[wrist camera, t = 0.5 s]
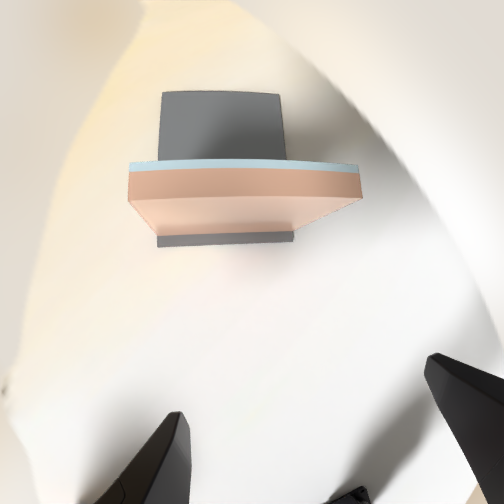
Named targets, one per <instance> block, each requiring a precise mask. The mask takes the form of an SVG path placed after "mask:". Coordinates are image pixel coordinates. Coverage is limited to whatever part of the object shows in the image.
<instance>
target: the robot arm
mask: <svg viewBox="0 0 504 504" xmlns="http://www.w3.org/2000/svg"><path fill="white" fill-rule="evenodd" d="M424 376H425V379H426V381H427V383H428V385H429V388H430V390H431V392H432V394H433V397H434V399H435V401H436V403H437V406H438V408H439V409H440V411H441V413H442V415H443V417H444V418H445V420H446V422H447V424H448V425H449V427H450V429H451V431H452V433H453V434H454V436H455V438H456V440H457V442H458V444H459V446H460V447H461V449H462V451H463V453H464V455H465V457H466V459H467V461H468V463H469V465H470V467H471V469H472V471H473V473H474V475H475V477H476V479H477V481H478V483H479V485H480V488H481V490H482V492H483V494H484V496H485V498H486V500H487V503H488V504H504V379H502V378H500V377H497V376H495V375H492V374H489V373H487V372H484V371H482V370H479V369H477V368H474V367H472V366H469V365H467V364H464V363H462V362H460V361H457V360H455V359H452V358H450V357H447V356H445V355H442V354H440V353H434V354H432V355H430V356H428V358H427V361H426V366H425V370H424ZM191 467H192V465H191V443H190V428H189V425H188V423H187V421H186V419H185V417H184V415H183V413H182V412H180V411H178V412H170V413H169V414H168V415H167V417H166V418H165V419H164V420H163V422H162V423H161V424H160V425H159V427H158V428H157V429H156V431H155V432H154V433H153V434H152V436H151V437H150V438H149V439H148V441H147V442H146V443H145V444H144V446H143V447H142V448H141V449H140V451H139V452H138V453H137V454H136V456H135V457H134V458H133V459H132V461H131V462H130V463H129V464H128V466H127V467H126V468H125V469H124V471H123V472H122V473H121V474H120V475H119V478H117V479H116V480H115V481H114V483H113V484H112V485H111V486H110V487H109V488H108V489H107V491H106V492H105V493H104V494H103V495H102V496H101V497H100V498H99V499H98V500H97V501H96V502H95V503H94V504H189V496H190V482H191ZM330 504H371V503H370V500H369V496H368V493H367V489H366V488H365V487H364V486H361V487H359V488H357V489H356V490H354V491H352V492H350V493H349V494H347V495H345V496H343V497H341V498H339V499H337V500H336V501H334V502H332V503H330Z"/></svg>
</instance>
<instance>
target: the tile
mask: <svg viewBox="0 0 504 504" xmlns="http://www.w3.org/2000/svg"><path fill="white" fill-rule="evenodd" d="M362 198H363V197H362V190H361V183H360V176H359V170H358V165H350V164H338V163H326V162H311V161H293V160H267V159H193V160H167V161H149V162H134V163H130V165H129V183H128V202H129V203H130V204H131V205H132V207H133V208H134V209H135V210H136V211H137V213H138V214H139V215H140V216H141V217H142V218H143V220H144V221H145V222H146V223H147V224H148V226H149V227H150V228H151V229H152V230H153V231H154V233H155V234H156V235H157V236H169V235H192V234H217V233H245V232H278V231H294V230H296V229H299V228H301V227H303V226H305V225H307V224H309V223H311V222H313V221H315V220H318V219H320V218H322V217H324V216H326V215H328V214H330V213H332V212H335V211H337V210H339V209H341V208H343V207H345V206H347V205H350V204H352V203H354V202H356V201H358V200H360V199H362Z"/></svg>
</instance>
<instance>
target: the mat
mask: <svg viewBox="0 0 504 504" xmlns="http://www.w3.org/2000/svg"><path fill="white" fill-rule="evenodd" d="M193 159H267V160H286V153H285V143H284V134H283V126H282V117H281V109H280V101H279V94H267V93H252V92H229V91H183V92H162V103H161V115H160V129H159V146H158V161H167V160H193ZM273 242H293V231H278V232H245V233H217V234H192V235H169V236H157V247H177V246H200V245H223V244H248V243H273Z"/></svg>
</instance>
